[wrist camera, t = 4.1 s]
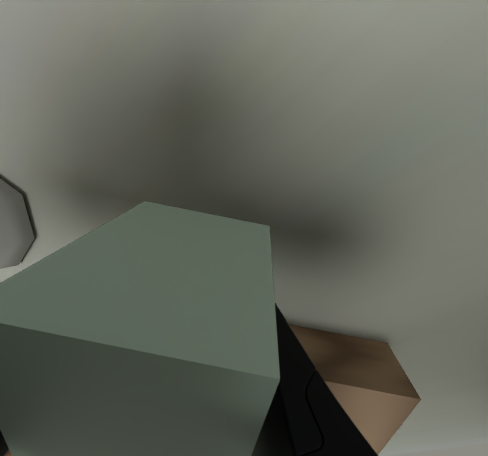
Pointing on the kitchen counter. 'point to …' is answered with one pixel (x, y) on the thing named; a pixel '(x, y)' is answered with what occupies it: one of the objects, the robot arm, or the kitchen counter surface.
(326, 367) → the walnut block
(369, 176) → the kitchen counter surface
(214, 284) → the sage cube
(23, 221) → the flask
